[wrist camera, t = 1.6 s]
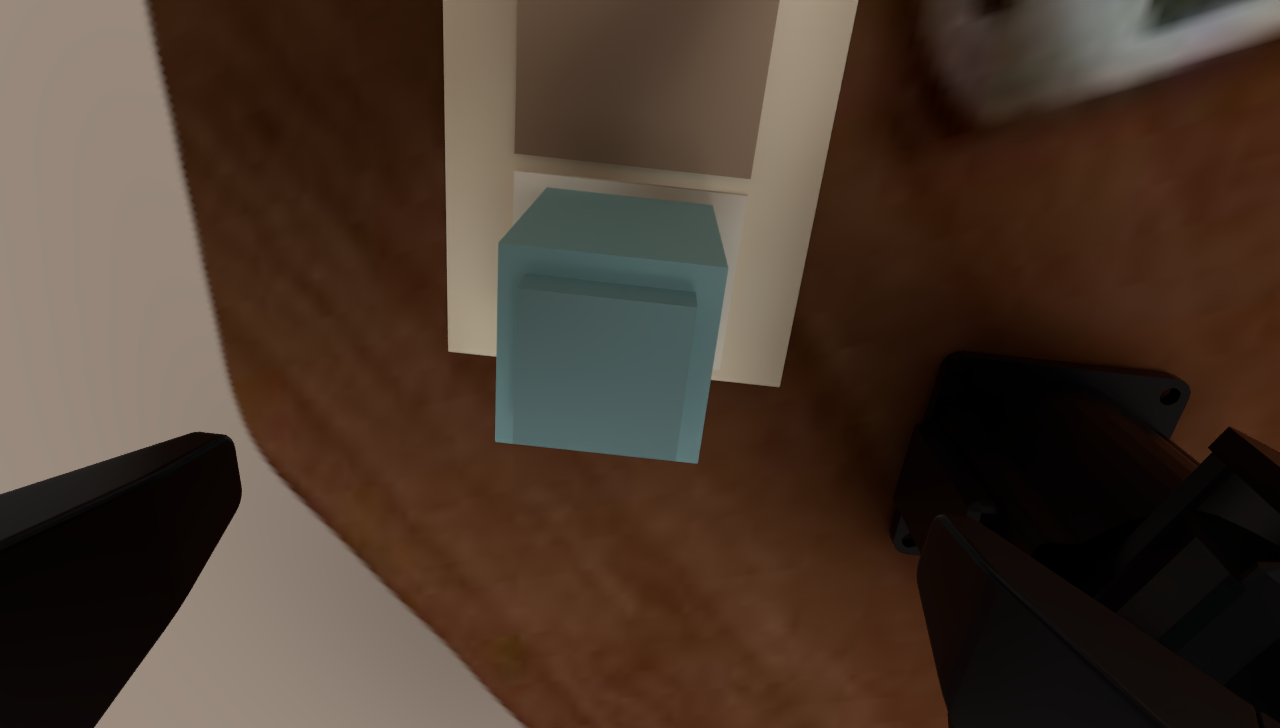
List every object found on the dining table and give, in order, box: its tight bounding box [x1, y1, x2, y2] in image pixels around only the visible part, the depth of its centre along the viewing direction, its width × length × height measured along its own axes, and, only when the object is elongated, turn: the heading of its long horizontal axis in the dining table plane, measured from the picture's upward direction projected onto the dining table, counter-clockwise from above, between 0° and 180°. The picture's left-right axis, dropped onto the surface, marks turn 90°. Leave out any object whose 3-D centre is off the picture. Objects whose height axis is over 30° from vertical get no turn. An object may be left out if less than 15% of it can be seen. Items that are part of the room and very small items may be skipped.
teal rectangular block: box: [495, 187, 728, 464], centre depth 15 cm, size 4×4×6 cm
